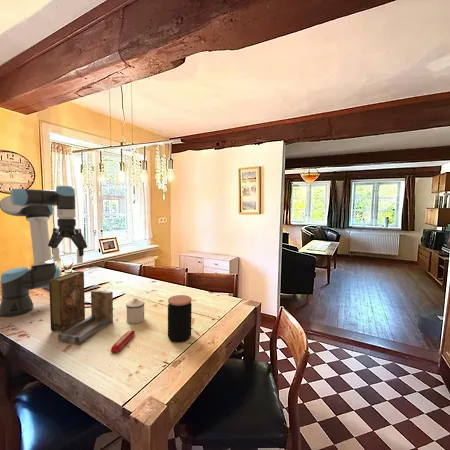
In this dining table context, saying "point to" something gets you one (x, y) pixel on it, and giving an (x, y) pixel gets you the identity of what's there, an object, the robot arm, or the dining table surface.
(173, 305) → the coffee jar
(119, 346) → the candy bar
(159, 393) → the dining table surface
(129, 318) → the teacup with lid
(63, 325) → the book
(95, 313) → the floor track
